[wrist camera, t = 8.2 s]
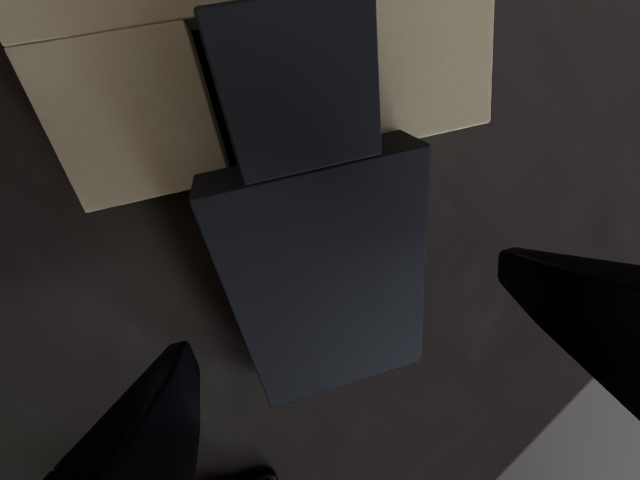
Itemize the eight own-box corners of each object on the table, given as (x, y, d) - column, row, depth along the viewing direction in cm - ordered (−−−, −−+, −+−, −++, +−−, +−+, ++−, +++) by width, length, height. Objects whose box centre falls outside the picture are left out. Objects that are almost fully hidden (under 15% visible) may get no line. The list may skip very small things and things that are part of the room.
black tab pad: (401, 328, 17) (421, 360, 15) (266, 370, 16) (271, 409, 14) (399, -19, 9) (439, -32, 7) (136, 22, 8) (114, 17, 6)
